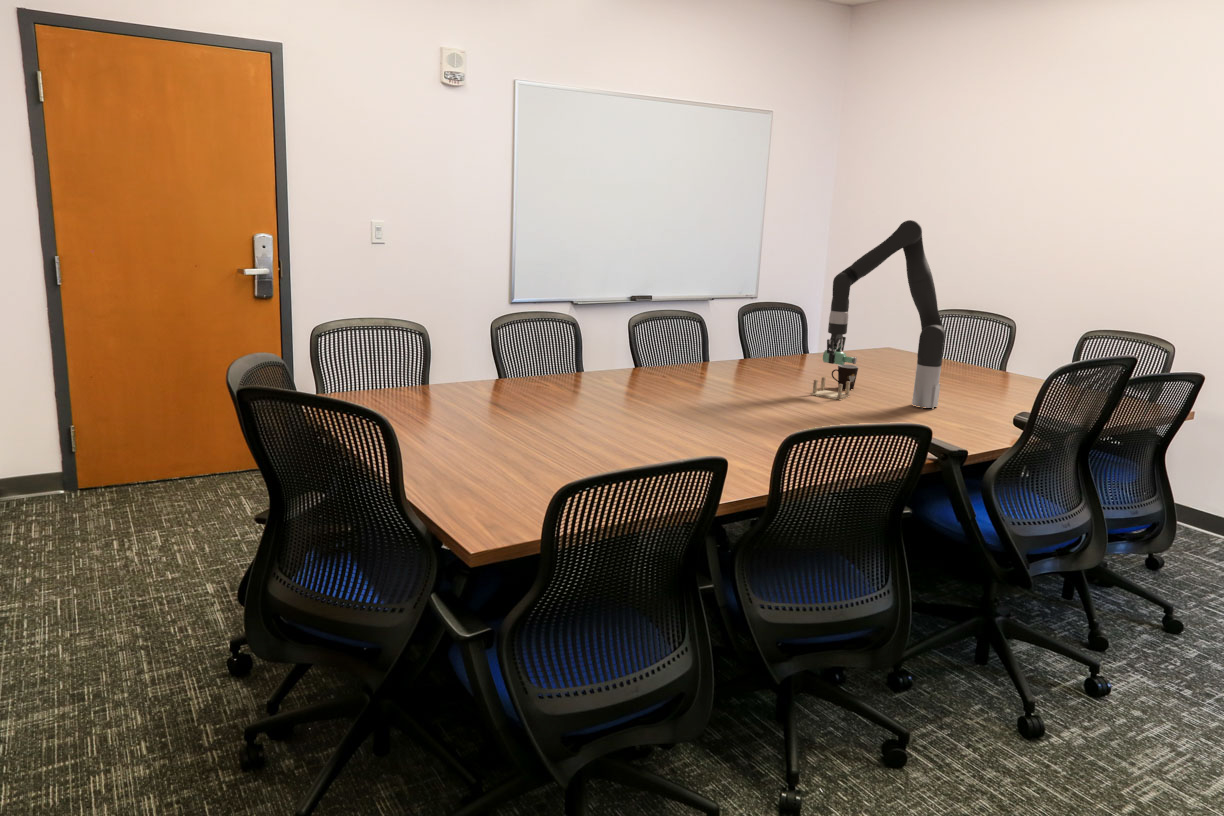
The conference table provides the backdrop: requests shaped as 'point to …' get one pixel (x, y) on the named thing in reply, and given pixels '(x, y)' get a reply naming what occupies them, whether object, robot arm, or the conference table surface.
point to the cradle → (830, 393)
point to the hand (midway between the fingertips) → (834, 362)
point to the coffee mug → (846, 375)
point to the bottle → (839, 358)
